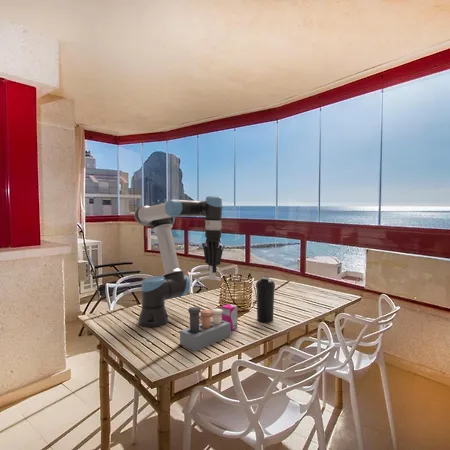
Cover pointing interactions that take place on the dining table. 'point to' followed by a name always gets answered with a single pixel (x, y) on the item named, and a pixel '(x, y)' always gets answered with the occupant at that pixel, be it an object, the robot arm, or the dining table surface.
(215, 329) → the socket block
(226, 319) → the supplement box
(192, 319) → the black plug
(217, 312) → the cream plug
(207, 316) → the terracotta plug
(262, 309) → the water bottle
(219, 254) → the robot arm
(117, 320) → the dining table surface
